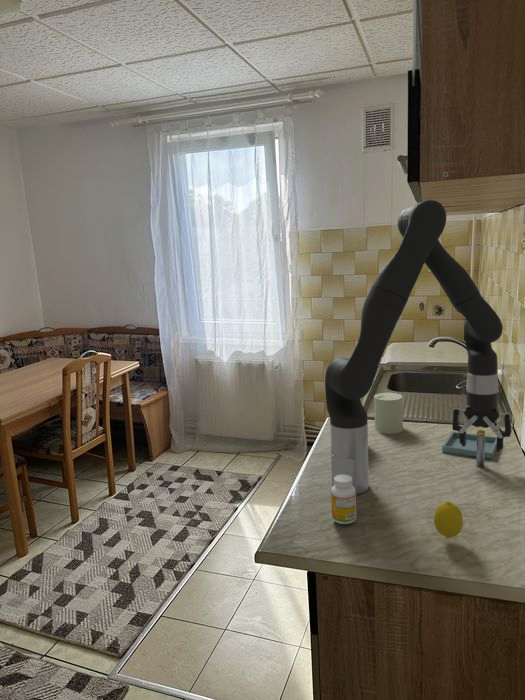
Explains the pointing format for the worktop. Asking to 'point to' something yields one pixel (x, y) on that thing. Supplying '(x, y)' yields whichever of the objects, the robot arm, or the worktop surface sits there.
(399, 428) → the can
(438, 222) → the robot arm
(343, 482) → the supplement bottle
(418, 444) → the worktop surface
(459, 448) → the tray
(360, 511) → the worktop surface
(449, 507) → the lemon
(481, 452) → the orange-topped grey cylinder
